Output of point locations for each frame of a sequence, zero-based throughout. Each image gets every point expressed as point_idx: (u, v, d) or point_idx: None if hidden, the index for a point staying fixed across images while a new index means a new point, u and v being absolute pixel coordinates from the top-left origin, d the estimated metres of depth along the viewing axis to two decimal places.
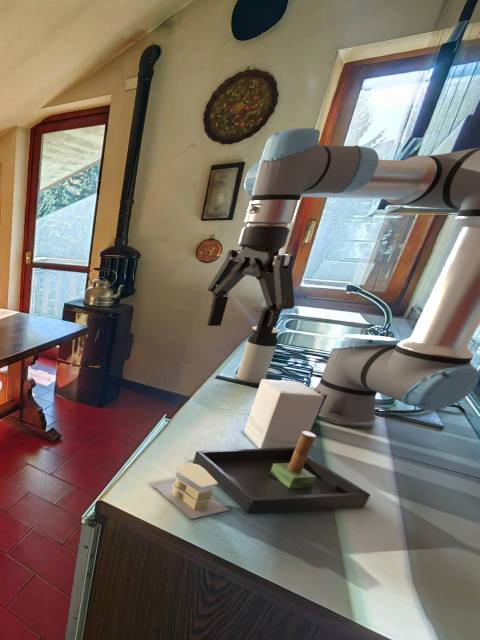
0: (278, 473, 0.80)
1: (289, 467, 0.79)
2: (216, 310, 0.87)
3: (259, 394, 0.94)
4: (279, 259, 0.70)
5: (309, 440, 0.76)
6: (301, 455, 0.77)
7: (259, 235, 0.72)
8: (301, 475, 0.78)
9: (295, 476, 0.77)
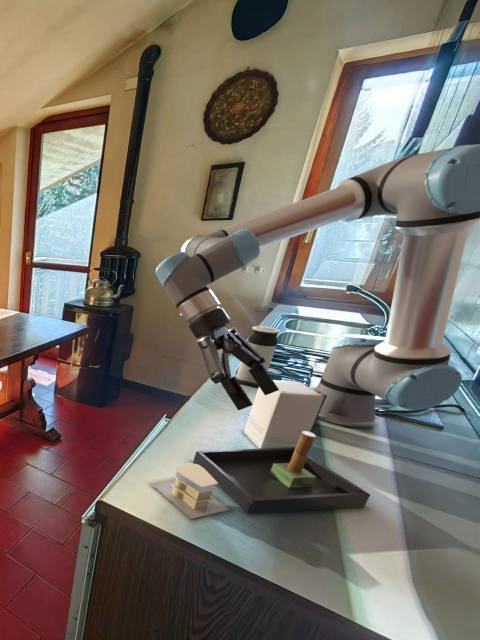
0: (278, 473, 0.80)
1: (289, 467, 0.79)
2: (259, 380, 0.87)
3: (259, 394, 0.94)
4: None
5: (309, 440, 0.76)
6: (301, 455, 0.77)
7: (191, 330, 0.88)
8: (301, 475, 0.78)
9: (295, 476, 0.77)
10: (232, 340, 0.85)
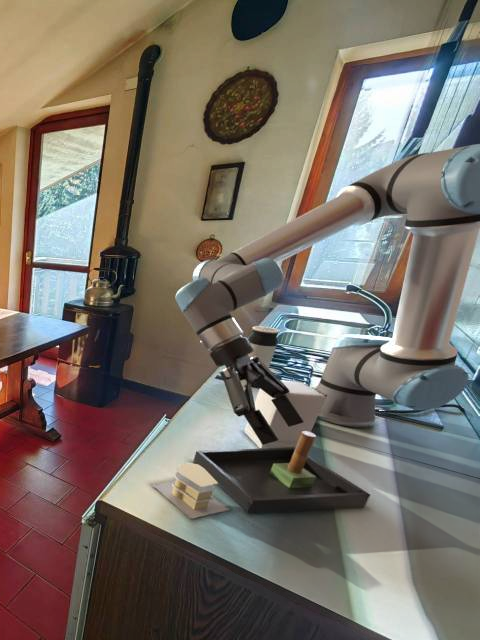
0: (278, 473, 0.80)
1: (289, 467, 0.79)
2: (282, 411, 0.84)
3: (261, 394, 0.94)
4: None
5: (309, 440, 0.76)
6: (301, 455, 0.77)
7: (212, 358, 0.85)
8: (301, 475, 0.78)
9: (295, 476, 0.77)
10: (255, 370, 0.83)
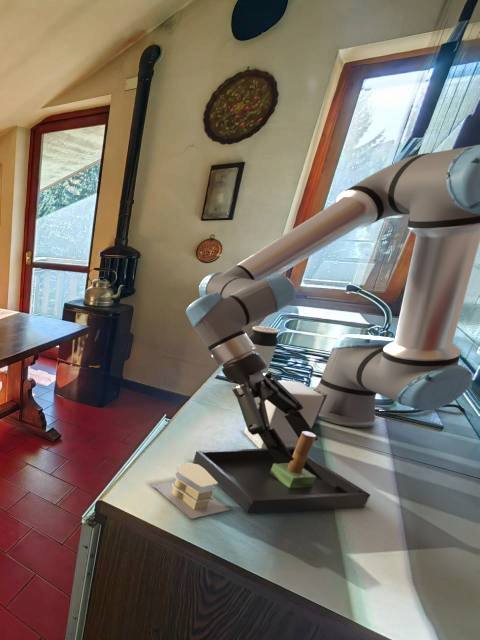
0: (278, 473, 0.80)
1: (289, 467, 0.79)
2: (296, 427, 0.83)
3: None
4: None
5: (309, 440, 0.76)
6: (301, 455, 0.77)
7: (225, 374, 0.84)
8: (301, 475, 0.78)
9: (295, 476, 0.77)
10: (268, 386, 0.81)
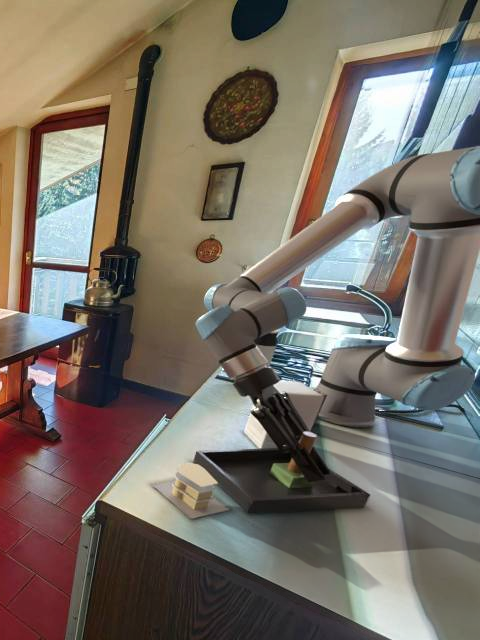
0: (278, 473, 0.80)
1: (289, 467, 0.79)
2: None
3: None
4: None
5: (310, 440, 0.75)
6: None
7: (236, 388, 0.83)
8: (301, 475, 0.78)
9: (295, 476, 0.77)
10: None
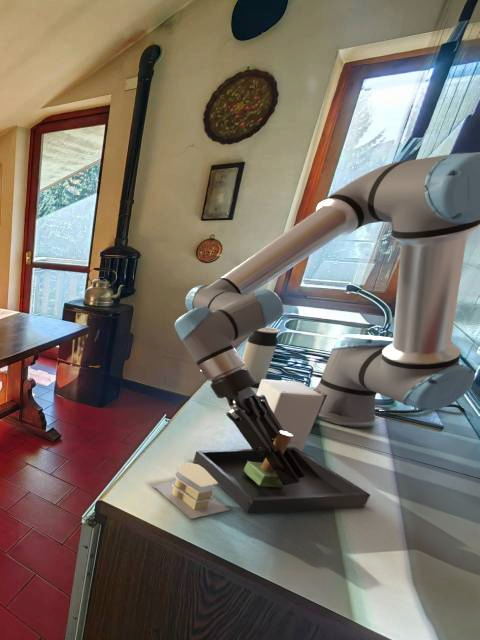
0: (251, 471, 0.80)
1: (262, 466, 0.79)
2: None
3: (259, 394, 0.94)
4: None
5: (285, 439, 0.75)
6: None
7: (213, 390, 0.83)
8: (273, 475, 0.77)
9: (266, 474, 0.77)
10: None
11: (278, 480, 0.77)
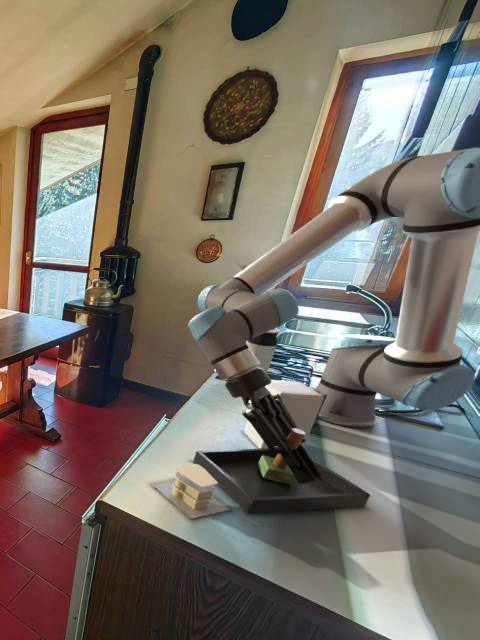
0: (262, 464, 0.82)
1: (274, 460, 0.81)
2: None
3: None
4: None
5: (295, 436, 0.76)
6: None
7: (228, 389, 0.83)
8: (281, 470, 0.79)
9: (272, 468, 0.79)
10: None
11: (285, 476, 0.78)
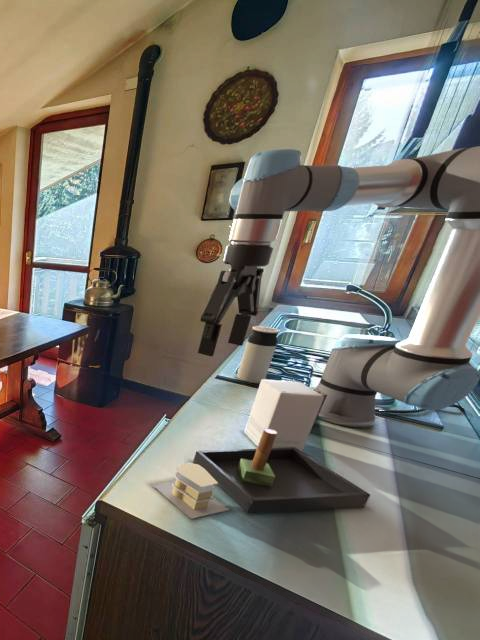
0: (241, 467, 0.82)
1: (251, 463, 0.81)
2: (235, 328, 0.85)
3: (259, 394, 0.94)
4: None
5: (267, 436, 0.77)
6: (260, 451, 0.78)
7: (226, 252, 0.76)
8: (258, 472, 0.79)
9: (250, 470, 0.79)
10: (250, 284, 0.77)
11: (263, 477, 0.78)
